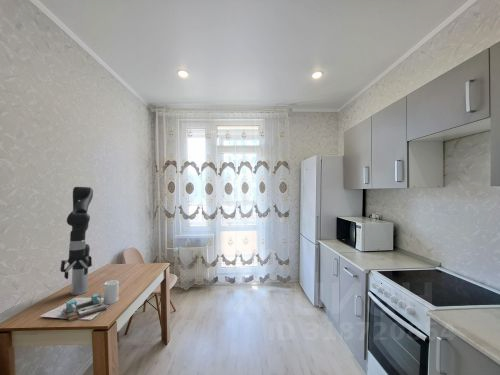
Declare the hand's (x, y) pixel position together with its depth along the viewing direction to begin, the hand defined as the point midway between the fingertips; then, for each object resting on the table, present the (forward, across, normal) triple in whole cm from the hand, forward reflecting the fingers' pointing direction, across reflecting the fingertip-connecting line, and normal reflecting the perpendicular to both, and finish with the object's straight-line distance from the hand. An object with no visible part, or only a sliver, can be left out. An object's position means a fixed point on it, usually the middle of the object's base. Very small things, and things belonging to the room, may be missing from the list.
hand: (76, 276), depth 133 cm
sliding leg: (+21, 0, -3) cm, 21 cm away
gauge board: (+22, -6, -3) cm, 23 cm away
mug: (+23, -22, -6) cm, 32 cm away
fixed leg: (+21, -12, -3) cm, 24 cm away
